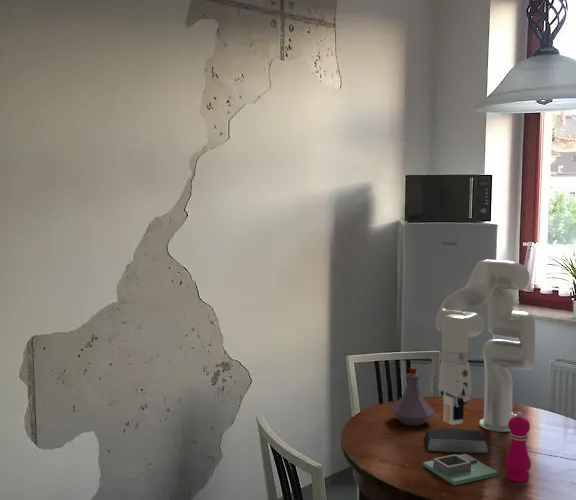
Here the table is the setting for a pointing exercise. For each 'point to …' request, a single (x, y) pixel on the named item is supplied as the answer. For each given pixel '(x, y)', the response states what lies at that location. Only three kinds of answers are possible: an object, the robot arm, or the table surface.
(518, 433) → the pepper mill
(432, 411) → the flask
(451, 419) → the plug
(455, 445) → the external hard drive
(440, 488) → the table surface
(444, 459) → the board
